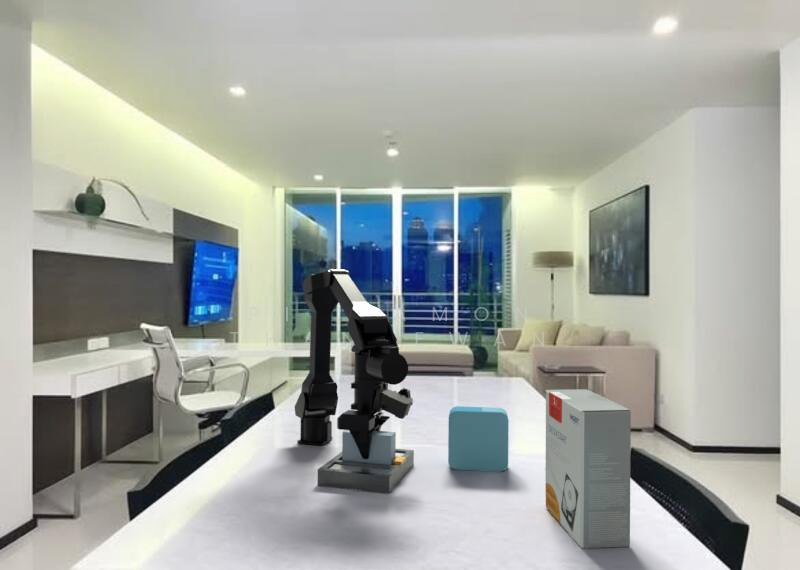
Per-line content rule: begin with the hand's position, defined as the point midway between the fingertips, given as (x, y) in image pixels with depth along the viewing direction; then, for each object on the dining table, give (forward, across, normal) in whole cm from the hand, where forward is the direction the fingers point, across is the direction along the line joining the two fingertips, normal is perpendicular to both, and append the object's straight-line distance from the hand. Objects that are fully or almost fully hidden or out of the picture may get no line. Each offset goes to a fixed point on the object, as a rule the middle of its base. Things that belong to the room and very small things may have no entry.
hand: (368, 456), depth 112 cm
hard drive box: (+4, -13, -40) cm, 42 cm away
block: (+1, 0, 0) cm, 1 cm away
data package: (+4, +11, -20) cm, 23 cm away
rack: (+4, 0, 0) cm, 4 cm away
